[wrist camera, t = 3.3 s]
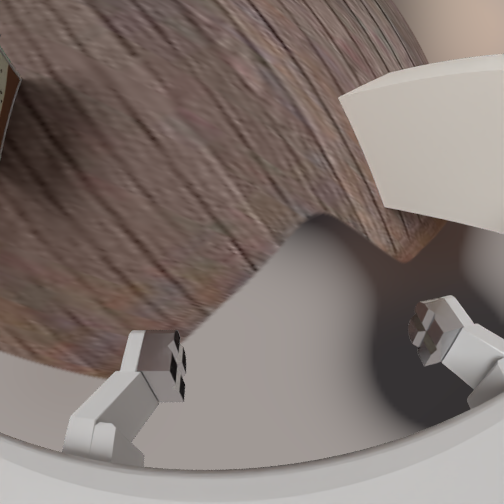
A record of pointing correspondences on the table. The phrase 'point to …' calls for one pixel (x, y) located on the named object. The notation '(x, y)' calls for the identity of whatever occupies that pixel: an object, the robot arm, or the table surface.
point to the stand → (436, 138)
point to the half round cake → (7, 93)
